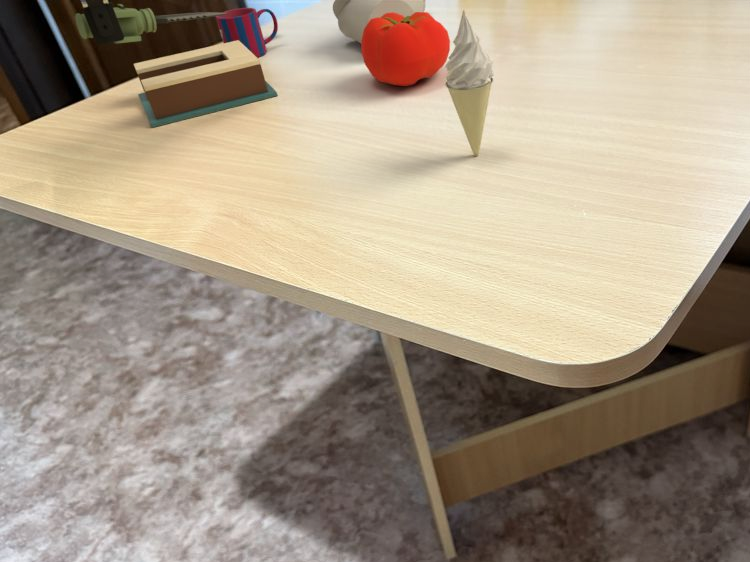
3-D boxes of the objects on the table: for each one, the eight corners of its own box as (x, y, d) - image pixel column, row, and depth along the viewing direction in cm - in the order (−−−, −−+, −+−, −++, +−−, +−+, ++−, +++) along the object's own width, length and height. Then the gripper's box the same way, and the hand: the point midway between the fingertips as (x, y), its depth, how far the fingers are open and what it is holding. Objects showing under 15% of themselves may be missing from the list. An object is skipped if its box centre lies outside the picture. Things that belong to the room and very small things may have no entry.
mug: (224, 56, 121) (211, 14, 117) (278, 42, 124) (267, 1, 120) (234, 64, 116) (221, 20, 112) (290, 50, 119) (279, 7, 115)
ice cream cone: (484, 167, 74) (470, 17, 65) (445, 161, 76) (426, 15, 67) (507, 149, 77) (497, 3, 68) (469, 143, 80) (454, 2, 70)
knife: (67, 4, 81) (81, 12, 78) (216, -6, 91) (234, 0, 88) (76, 39, 83) (90, 48, 80) (221, 25, 94) (238, 33, 91)
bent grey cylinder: (315, 33, 121) (359, 56, 107) (313, -36, 116) (360, -20, 101) (406, 34, 129) (458, 56, 115) (409, -30, 124) (464, -15, 110)
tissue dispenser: (151, 128, 95) (136, 90, 92) (139, 97, 107) (125, 63, 104) (277, 95, 100) (268, 59, 97) (253, 70, 112) (243, 37, 109)
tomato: (471, 81, 97) (465, 13, 91) (388, 103, 93) (376, 34, 88) (432, 59, 107) (424, -3, 101) (355, 78, 103) (343, 14, 98)
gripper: (2, -144, 77) (75, 29, 88) (-9, -142, 65) (78, 59, 76) (74, -153, 79) (136, 18, 91) (76, -152, 67) (148, 45, 78)
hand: (109, 35), depth 83 cm, fingers closed on knife, 5 cm apart
